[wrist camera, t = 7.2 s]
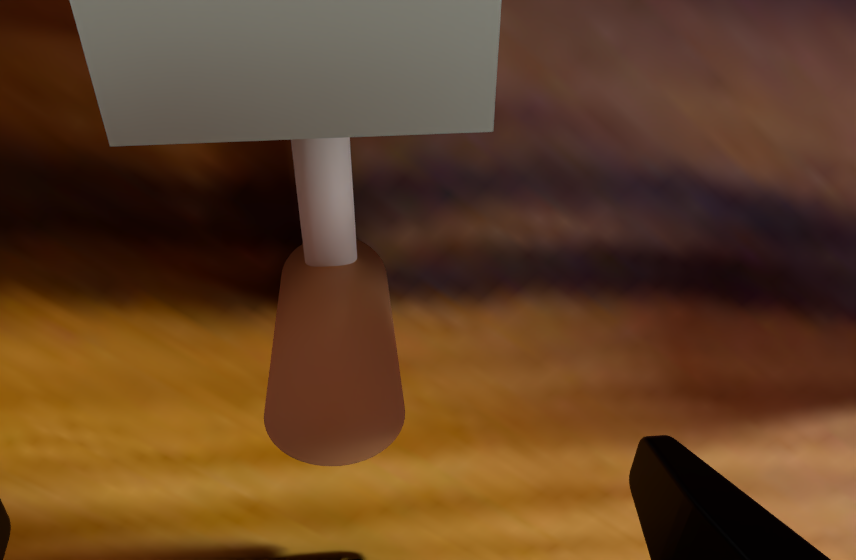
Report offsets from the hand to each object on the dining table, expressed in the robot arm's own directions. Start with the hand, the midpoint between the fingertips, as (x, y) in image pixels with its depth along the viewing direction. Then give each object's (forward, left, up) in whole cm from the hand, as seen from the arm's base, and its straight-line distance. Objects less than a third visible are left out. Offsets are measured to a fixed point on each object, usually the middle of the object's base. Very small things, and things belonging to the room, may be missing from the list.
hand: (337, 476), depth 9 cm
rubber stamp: (+4, 0, -6) cm, 7 cm away
